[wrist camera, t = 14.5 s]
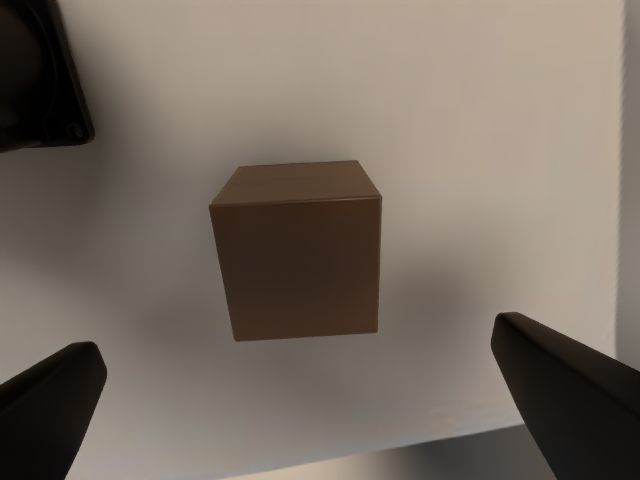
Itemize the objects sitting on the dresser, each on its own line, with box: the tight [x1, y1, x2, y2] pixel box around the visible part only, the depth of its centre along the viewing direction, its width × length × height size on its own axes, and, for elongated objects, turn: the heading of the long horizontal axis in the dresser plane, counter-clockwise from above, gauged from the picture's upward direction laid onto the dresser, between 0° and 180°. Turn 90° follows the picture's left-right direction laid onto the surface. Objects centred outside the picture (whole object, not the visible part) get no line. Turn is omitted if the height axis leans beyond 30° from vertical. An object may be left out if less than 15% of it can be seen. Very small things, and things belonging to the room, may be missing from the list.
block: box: [209, 160, 382, 342], centre depth 13 cm, size 5×5×5 cm
